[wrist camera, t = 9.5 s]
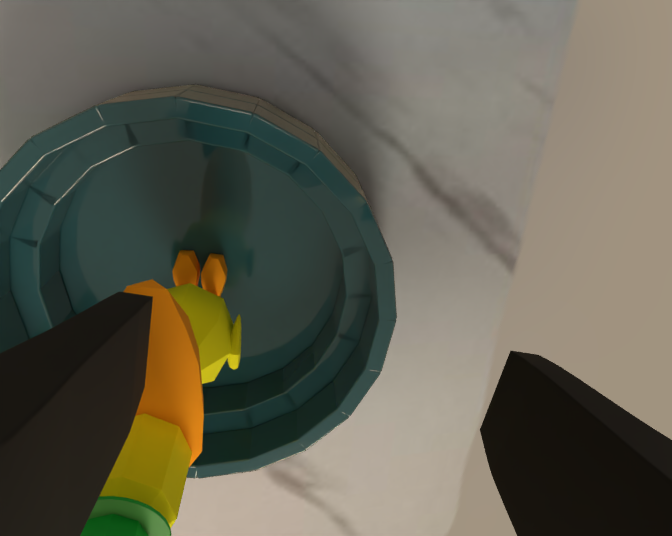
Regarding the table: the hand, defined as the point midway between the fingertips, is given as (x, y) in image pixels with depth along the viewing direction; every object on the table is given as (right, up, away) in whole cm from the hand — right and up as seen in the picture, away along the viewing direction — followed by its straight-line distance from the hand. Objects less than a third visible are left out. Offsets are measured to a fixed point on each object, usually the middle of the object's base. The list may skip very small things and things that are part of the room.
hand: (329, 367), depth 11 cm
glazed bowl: (-5, +2, +10) cm, 11 cm away
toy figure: (-5, +2, +10) cm, 11 cm away
